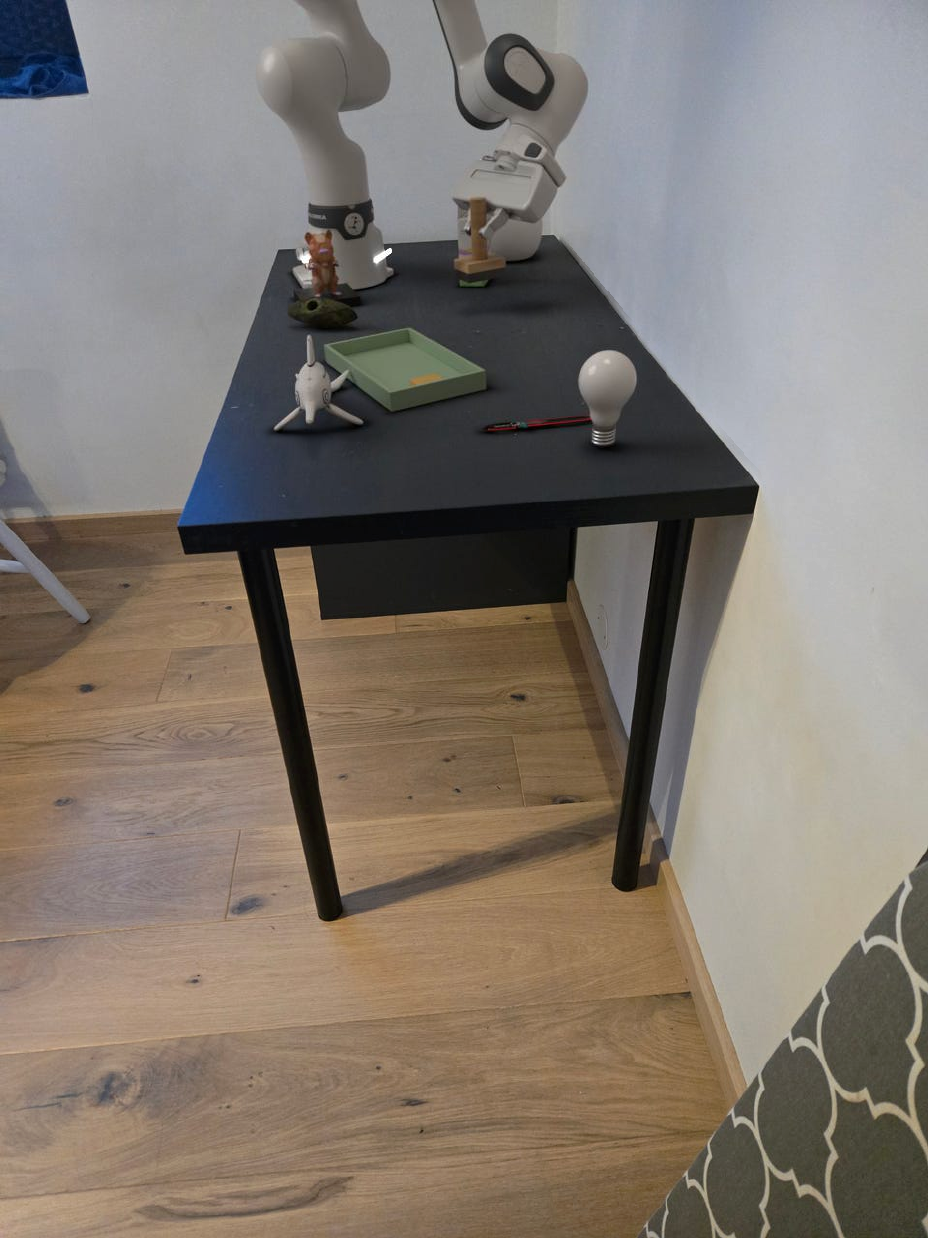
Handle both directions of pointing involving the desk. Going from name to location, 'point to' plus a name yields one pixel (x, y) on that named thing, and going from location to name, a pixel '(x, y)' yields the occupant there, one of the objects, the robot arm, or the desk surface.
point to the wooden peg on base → (479, 250)
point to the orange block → (424, 379)
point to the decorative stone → (321, 312)
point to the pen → (532, 423)
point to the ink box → (468, 244)
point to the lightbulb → (606, 392)
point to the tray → (404, 368)
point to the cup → (516, 239)
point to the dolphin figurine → (315, 391)
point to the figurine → (325, 272)
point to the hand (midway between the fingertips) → (475, 235)
